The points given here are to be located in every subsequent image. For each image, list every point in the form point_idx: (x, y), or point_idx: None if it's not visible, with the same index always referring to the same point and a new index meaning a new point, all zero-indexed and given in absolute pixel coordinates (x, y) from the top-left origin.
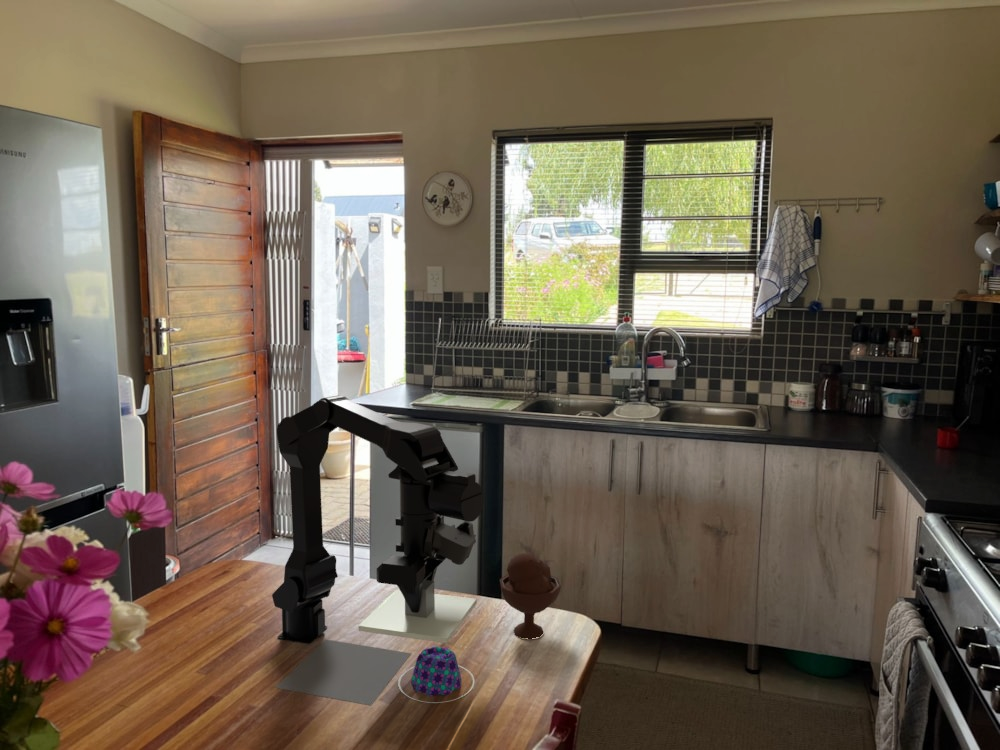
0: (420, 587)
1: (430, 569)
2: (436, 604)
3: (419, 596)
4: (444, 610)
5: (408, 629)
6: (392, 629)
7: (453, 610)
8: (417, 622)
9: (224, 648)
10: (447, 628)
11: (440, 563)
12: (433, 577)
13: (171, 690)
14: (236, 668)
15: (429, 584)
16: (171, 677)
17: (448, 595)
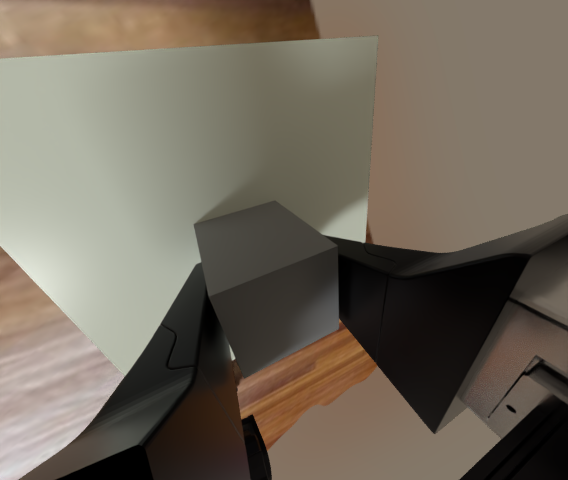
0: (403, 253)
1: (208, 396)
2: (157, 240)
3: (353, 241)
4: (183, 178)
5: (353, 199)
6: (362, 232)
7: (154, 139)
8: (312, 204)
9: (275, 392)
10: (316, 74)
11: (153, 436)
12: (175, 333)
13: (341, 353)
14: (297, 358)
15: (270, 280)
16: (327, 369)
17: (16, 262)
